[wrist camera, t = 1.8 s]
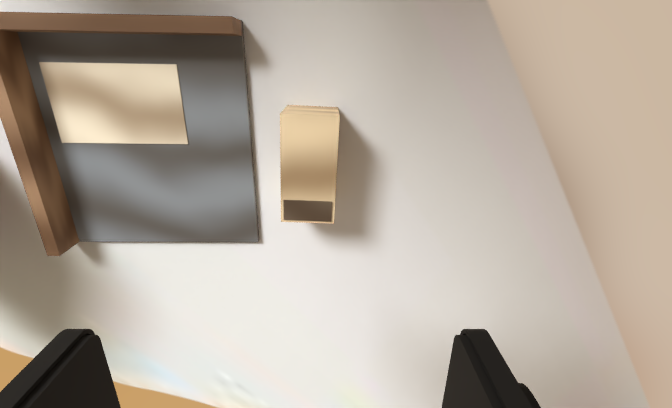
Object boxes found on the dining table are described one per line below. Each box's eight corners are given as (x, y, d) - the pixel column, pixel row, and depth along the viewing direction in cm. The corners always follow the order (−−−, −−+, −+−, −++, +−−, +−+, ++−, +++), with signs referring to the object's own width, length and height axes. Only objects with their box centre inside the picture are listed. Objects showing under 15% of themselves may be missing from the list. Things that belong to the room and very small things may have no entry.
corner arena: (4, 16, 25) (-36, 11, 22) (242, 21, 26) (231, 16, 23) (72, 238, 32) (47, 255, 29) (259, 239, 32) (252, 256, 30)
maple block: (287, 104, 28) (279, 113, 23) (337, 107, 28) (339, 116, 24) (288, 197, 31) (280, 222, 26) (332, 199, 31) (334, 224, 27)
